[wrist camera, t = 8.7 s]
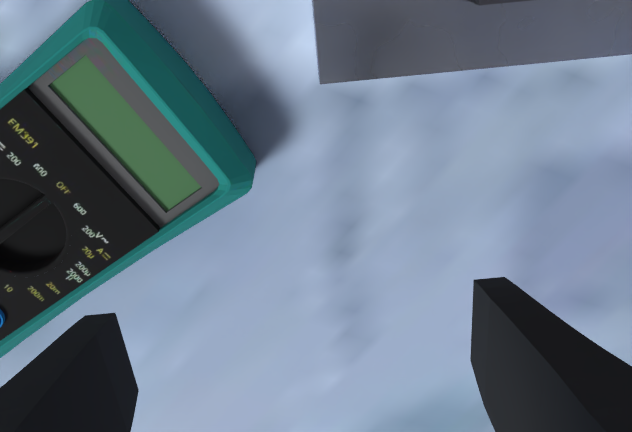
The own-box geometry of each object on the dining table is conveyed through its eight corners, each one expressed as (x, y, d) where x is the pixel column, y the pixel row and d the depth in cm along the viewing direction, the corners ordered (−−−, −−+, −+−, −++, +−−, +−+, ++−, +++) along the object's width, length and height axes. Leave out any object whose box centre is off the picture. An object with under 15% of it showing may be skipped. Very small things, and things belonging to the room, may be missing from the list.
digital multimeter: (-167, 226, 22) (-230, 268, 19) (125, -21, 18) (96, -11, 16) (-12, 349, 25) (-49, 400, 22) (267, 157, 21) (263, 190, 18)
